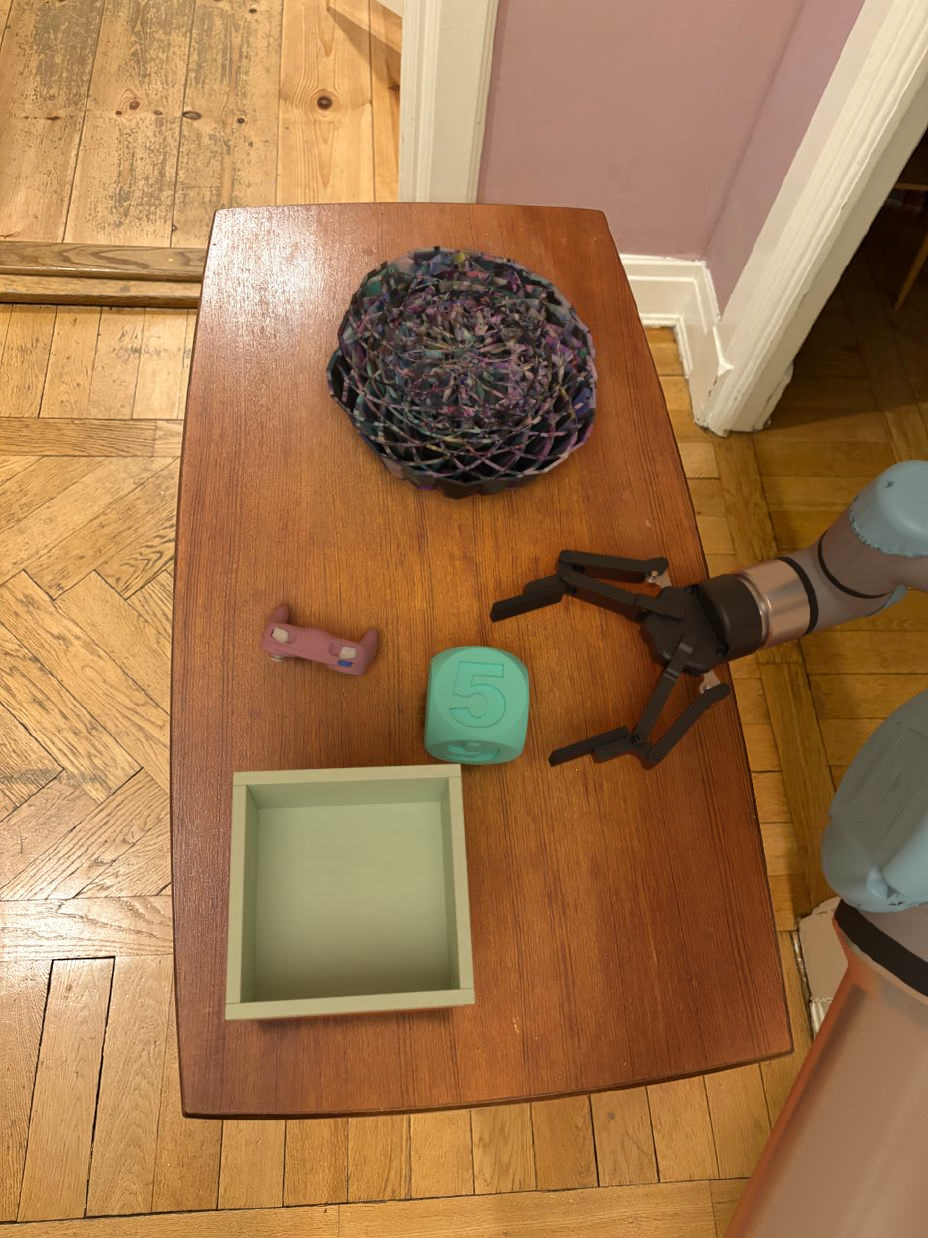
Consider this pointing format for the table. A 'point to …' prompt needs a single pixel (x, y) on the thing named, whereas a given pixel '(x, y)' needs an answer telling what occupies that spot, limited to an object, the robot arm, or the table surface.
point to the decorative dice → (476, 705)
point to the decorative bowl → (464, 371)
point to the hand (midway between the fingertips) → (521, 684)
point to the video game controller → (317, 645)
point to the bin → (348, 892)
